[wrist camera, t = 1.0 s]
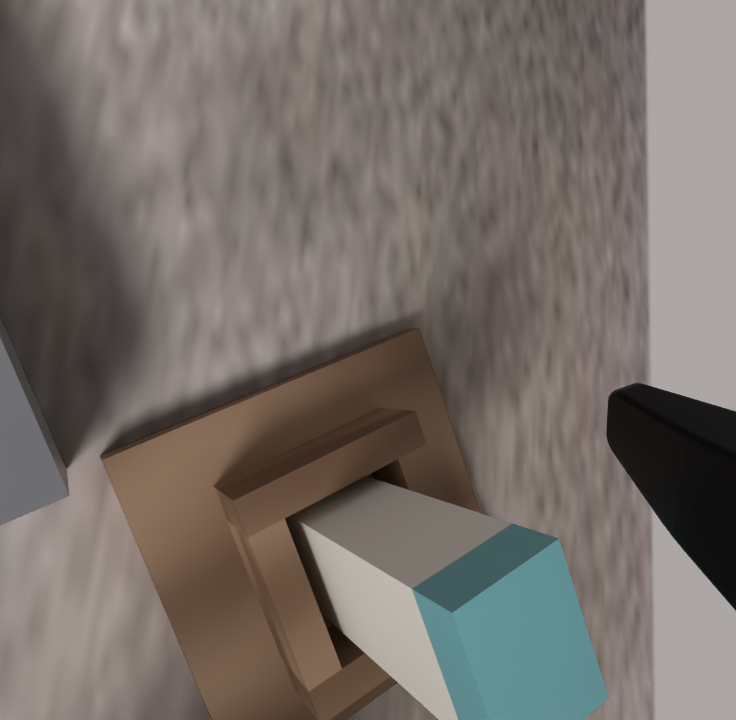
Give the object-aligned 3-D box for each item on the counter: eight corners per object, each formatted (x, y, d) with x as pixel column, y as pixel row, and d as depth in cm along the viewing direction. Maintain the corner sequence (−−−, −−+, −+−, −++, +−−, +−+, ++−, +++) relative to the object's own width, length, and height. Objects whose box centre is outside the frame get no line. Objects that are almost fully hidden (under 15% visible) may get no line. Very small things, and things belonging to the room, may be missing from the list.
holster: (494, 593, 26) (553, 623, 23) (235, 776, 21) (267, 847, 18) (405, 329, 24) (457, 323, 21) (99, 456, 19) (108, 471, 16)
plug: (390, 570, 22) (608, 697, 14) (321, 613, 21) (512, 785, 12) (355, 472, 22) (558, 538, 13) (281, 510, 21) (451, 613, 12)
